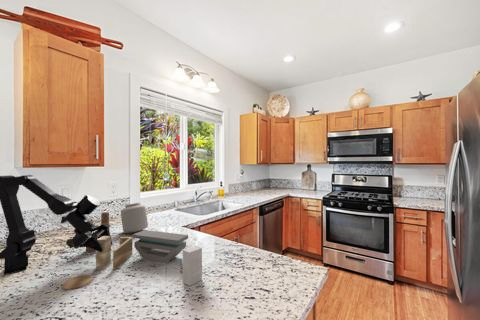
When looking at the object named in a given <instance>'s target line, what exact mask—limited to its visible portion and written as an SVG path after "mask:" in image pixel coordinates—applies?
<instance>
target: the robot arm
mask: <svg viewBox="0 0 480 320" xmlns="http://www.w3.org/2000/svg"><path fill="white" fill-rule="evenodd" d="M20 186H23V187H24V188H26V189H27V190H28V191H29V192H31V193H33V194H34V195H36V197H38V198H39V199H41V200H43V201H44V202H45V203H46V204H47V208H48V209H49V210H50V211H51V212H52V213H53V214H54V215H57V216H61V215H64V214H66V215H64V216H61V220H60V224H65V223H69V224H70V225H71V226H72V227H73V233H74V234H75V235H74V236H73V237H72V238H69V239H67V240H66V241H65V244H66V246H67V247H69V249H72V248H73V249H76V250H78V249H79V248H80V249H81V248H86V247H89V248H92V249H94V250H96V251H99V252H102V251H103V249H102V247H101V245H100V243H99V241H98V240H97V239H99V238H101V237H102V236H111V234H110V233H111V232H110V227H111V225H110V223H109V224H108V223H104V224H102V225H101V224H100V225H98V224H96V225H95V224H94V223H93V222H92V221H93V218H91V217H90V218H88V217H87V216H89V215H91V214H92V213H93V212H94V211H95V210H96V209H97V208H98V207H99V206H100V205H101V202H100V200H98V199H97V198H95V197H94V196H91V195H90V194H86V195H84V196H83V197H82V198H81V199H80V201H74V200H73V199H71V198H69V197H67V196H64V195H61V194H59V193H57V192H55V191H54V190H53V189H51V188H50V187H49V186H47V185H45V184H44V183H43V182H42V181H40V180H39V179H38V178H37V177H36V176H34V175H32V174H28V175H27V174H26V175H20V176H14V175H0V206H1V208H2V212H3V216H4V218H5V219H4V220H5V223H6V226H7V229H8V235H7V237H6V239H5V242H6V243H5V244H6V247H5V248H4V249H3V250H1V251H0V260H4V267H3V268H4V269H3V275H8V274H14V273H17V272H21V271H26V270H27V268H28V267H29V254H28V253H27V252H30V251H31V250H32V247H34V245H35V244H36V239H37V236H36V233H35V229H28V227H26V224H25V221H24V216H23V213H22V210H21V206H20V202H19V199H18V192H19V190H20ZM86 215H87V216H86ZM96 237H97V238H96ZM112 245H113V240H112V239H111V246H112ZM96 251H95V252H96Z"/></svg>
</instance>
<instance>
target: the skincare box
mask: <svg viewBox="0 0 480 320" xmlns="http://www.w3.org/2000/svg"><path fill="white" fill-rule="evenodd" d="M202 280H203V249H202V247H199V246H197V245H193V246H191V247H188V248H184V249H183V250H182V283H183V284H185V285H187V286H188V287H191V286H192V285H195V284H196V283H198V282H200V281H202Z"/></svg>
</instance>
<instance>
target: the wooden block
mask: <svg viewBox="0 0 480 320" xmlns="http://www.w3.org/2000/svg"><path fill="white" fill-rule="evenodd" d="M100 217H101V218H100V223H101V224H100V225H102V224H104V223H108V224H109V225H110V212H109V211H102V212H101V216H100ZM96 238H97V237H96ZM85 252H87V253H92V252H93V253H94V252H96V250H94V249H92V248H89V247H85Z"/></svg>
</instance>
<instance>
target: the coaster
mask: <svg viewBox="0 0 480 320" xmlns="http://www.w3.org/2000/svg"><path fill="white" fill-rule="evenodd" d="M93 279H94V278H93V276H92V275H90V274H82V275H78V276H73V277H71V278H69V279H66V280H65V281H64V282H63V283H62V284H61V288H62V289H63V290H68V291H69V290H76V289H77V290H78V289H80V288H83V287H85V286H87V285H90V284H91V283H92V282H93Z"/></svg>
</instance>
